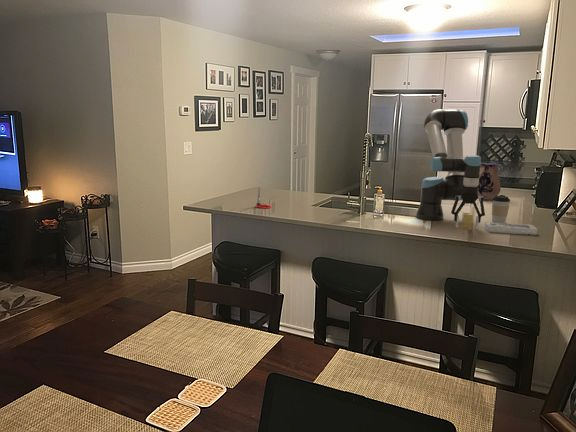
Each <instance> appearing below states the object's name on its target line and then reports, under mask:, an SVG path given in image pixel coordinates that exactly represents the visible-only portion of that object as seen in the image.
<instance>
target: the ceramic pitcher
mask: <svg viewBox="0 0 576 432" xmlns="http://www.w3.org/2000/svg"><path fill="white" fill-rule="evenodd" d="M499 166H500V164H499V163H495V162H481V166H480V175H479V185H478V197H483V198H484V200H486V201H491V200H492V199H493V198H494V197H495V196H499V195H500V192H501V181H500V176H499V172H498V167H499ZM492 201H493V200H492Z"/></svg>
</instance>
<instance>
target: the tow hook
mask: <svg viewBox="0 0 576 432" xmlns="http://www.w3.org/2000/svg"><path fill="white" fill-rule="evenodd" d="M260 189H261V187H260V186H258V190H257V199H256V200H257V202H256V205H255V207H254V208H255V209H257V208H258V209H262V210H263V209H264V210H268V209H272V206H271V205H270V204H261V199H260V197H261V190H260Z"/></svg>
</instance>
